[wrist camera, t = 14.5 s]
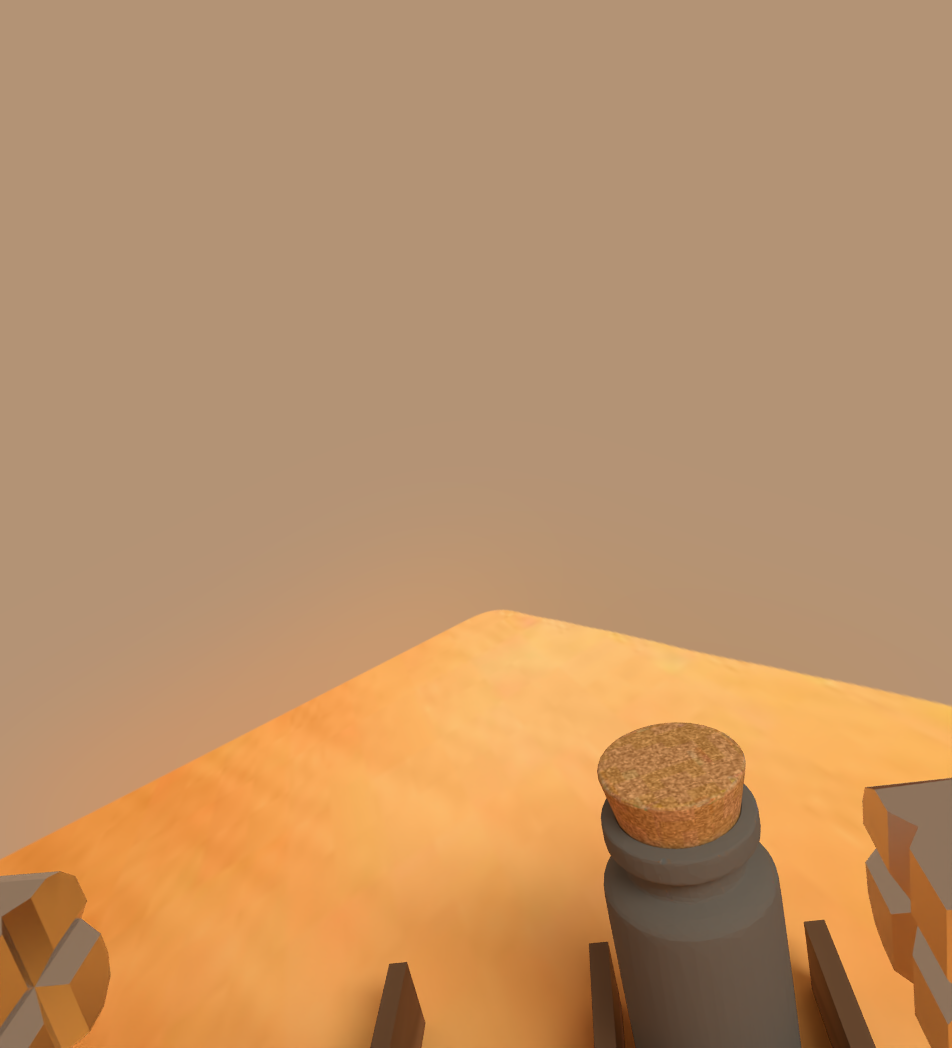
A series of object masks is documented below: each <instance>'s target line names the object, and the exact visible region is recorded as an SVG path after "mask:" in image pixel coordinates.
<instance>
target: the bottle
mask: <svg viewBox="0 0 952 1048" xmlns="http://www.w3.org/2000/svg"><path fill="white" fill-rule="evenodd" d="M597 773H598V779H599V782H600V784H601V786H602V789H603V791H604V793H605V795H606V797H607V798H606V800H605V803H604V805H603V808H602V813H601V822H602V829H603V835H604V840H605V843H606V846H607V849H608V851H609V853H610V855H611V857H610V858H609V860H608V863H607V866H606V869H605V873H604V890H605V897H606V903H607V908H608V914H609V919H610V924H611V929H612V934H613V939H614V944H615V949H616V954H617V959H618V964H619V969H620V974H621V978H622V983H623V988H624V993H625V998H626V1003H627V1008H628V1013H629V1018H630V1022H631V1027H632V1032H633V1037H634V1041H635V1046H636V1048H801V1041H800V1033H799V1025H798V1017H797V1009H796V1001H795V993H794V985H793V978H792V970H791V963H790V955H789V948H788V940H787V933H786V925H785V918H784V910H783V903H782V896H781V889H780V883H779V877H778V873H777V870H776V866H775V864H774V862H773V859H772V857H771V856H770V854H769V853H768V851H767V850H766V849H765V848H764V847H763V846H762V844H761V843H760V842H759V840H760V827H761V825H760V818H759V811H758V807H757V804H756V800H755V798H754V796H753V794H752V793H751V791H750V790H749V789H748V788H747V786H746V785H744V776H745V757H744V754H743V752H742V750H741V748H740V747H739V745H738V744H737V743H736V742H735V741H734V740H733V739H731V738H730V737H729V736H727V735H726V734H724V733H722V732H720V731H718V730H716V729H713V728H710V727H707V726H704V725H698V724H692V723H664V724H656V725H651V726H647V727H643V728H640V729H637V730H635V731H632V732H630V733H628V734H626V735H624V736H622V737H620V738H619V739H617V740H616V741H615V742H613V743H612V744H611V745H610V746H609V747H608V748H607V749H606V750H605V752H604V753H603V755H602V756H601V758H600V761H599V764H598V770H597Z"/></svg>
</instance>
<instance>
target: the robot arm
mask: <svg viewBox="0 0 952 1048" xmlns="http://www.w3.org/2000/svg"><path fill="white" fill-rule="evenodd" d="M862 803H863V824H864V826H865V828H866V830H867V831H868V833H869V835H870V837H871V839H872V841H873V843H874V845H875V847H876V849H875V851H874V852H873V853H872V855H871V856H870V857H869V858H868V860H867V861H866V862H865V863H866V874H867V886H868V894H869V899H870V903H871V908H872V912H873V917H874V921H875V925H876V927H877V930H878V933H879V936H880V939H881V941H882V944H883V947H884V949H885V951H886V953H887V956H888V958H889V960H890V962H891V964H892V966H893V969H894V971H896V972H897V973H899V974H900V975H902V976H903V977H904V978H906V979H907V980H909V981H910V982H912V983H913V984H914V1003H915V1015H916V1017H917V1019H918V1021H919V1024H920V1026H921V1028H922V1030H923V1032H924V1034H925V1036H926V1038H927V1040H928V1042H929V1044H930V1046H931V1048H952V778H946V779H937V780H928V781H919V782H910V783H901V784H892V785H882V786H873V787H865V790H864V795H863V801H862ZM86 902H87V900H86V898H85V895H84V893H83V891H82V889H81V887H80V885H79V883H78V881H77V879H76V877H75V876H73V875H70V874H67V873H64V872H61V871H59V872H46V873H34V874H21V875H9V876H0V1048H71V1047H72V1046H73V1045H75V1044H76V1043H77V1042H78V1041H79V1040H81V1039H82V1038H83V1037H84V1036H85V1035H87V1034H88V1033H89V1032H90V1031H91V1029H92V1027H93V1025H94V1023H95V1021H96V1019H97V1018H98V1016H99V1014H100V1012H101V1010H102V1008H103V1007H104V1003H105V999H106V994H107V989H108V985H109V980H110V966H109V956H108V951H107V948H106V946H105V943H104V941H103V938H102V936H101V934H100V933H99V932H98V931H96V930H95V929H94V928H93V927H91V926H90V925H89V924H87V923H86V922H85V921H83V920H82V919H81V916H82V914H83V911H84V908H85V905H86Z"/></svg>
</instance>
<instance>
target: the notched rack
mask: <svg viewBox="0 0 952 1048" xmlns="http://www.w3.org/2000/svg"><path fill="white" fill-rule="evenodd" d="M804 927H805V935H806V944H807V952H808V960H809V968H810V976H811V985H812V990H813V993H814V996H815V998H816V1001H817V1004H818V1007H819V1010H820V1013H821V1016H822V1018H823V1021H824V1024H825V1027H826V1030H827V1033H828V1036H829V1038H830V1041H831V1044H832V1047H833V1048H876V1047H875V1044H874V1042H873V1039H872V1037H871V1035H870V1032H869V1030H868V1027H867V1025H866V1022H865V1020H864V1017H863V1015H862V1012H861V1010H860V1007H859V1005H858V1002H857V1000H856V997H855V995H854V992H853V990H852V987H851V985H850V982H849V980H848V978H847V975H846V973H845V970H844V968H843V965H842V963H841V960H840V958H839V955H838V953H837V950H836V948H835V945H834V943H833V940H832V938H831V935H830V933H829V930H828V928H827V925H826V923H825V921H824V920H817V921H808V922H804ZM589 953H590V972H591V991H592V1010H593V1029H594V1048H625V1041H624V1030H623V1019H622V1008H621V1002H620V997H619V992H618V988H617V983H616V978H615V973H614V968H613V964H612V959H611V954H610V949H609V945H608V942H600V943H591V944H589ZM424 1028H425V1020H424V1017H423V1014H422V1011H421V1007H420V1004H419V1001H418V997H417V994H416V991H415V987H414V984H413V981H412V977H411V974H410V971H409V967H408V964H407V962H403V963H393V964H389V968H388V972H387V976H386V981H385V985H384V990H383V994H382V999H381V1003H380V1007H379V1012H378V1016H377V1021H376V1025H375V1029H374V1034H373V1038H372V1043H371V1047H370V1048H421V1046H422V1040H423V1034H424Z"/></svg>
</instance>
